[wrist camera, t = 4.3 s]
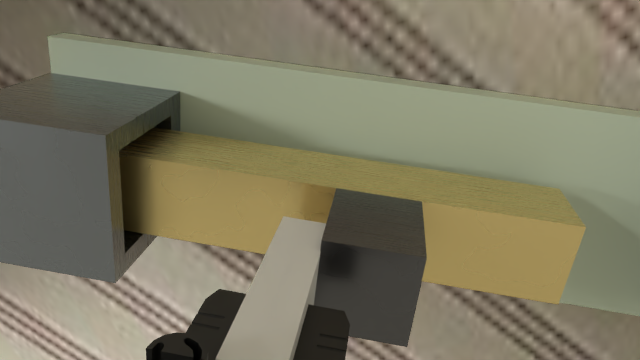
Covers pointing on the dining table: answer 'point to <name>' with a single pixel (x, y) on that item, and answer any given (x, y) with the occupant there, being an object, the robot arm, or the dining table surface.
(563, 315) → the dining table surface
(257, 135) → the base plank
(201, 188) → the sliding bolt
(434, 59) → the dining table surface
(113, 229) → the guide sleeve
